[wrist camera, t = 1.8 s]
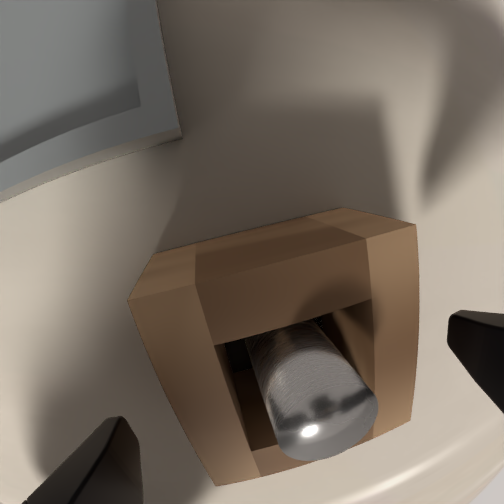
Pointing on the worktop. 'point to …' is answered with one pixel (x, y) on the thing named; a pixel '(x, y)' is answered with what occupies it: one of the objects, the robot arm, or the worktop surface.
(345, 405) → the post
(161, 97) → the tray
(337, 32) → the worktop surface
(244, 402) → the brown square socket block
